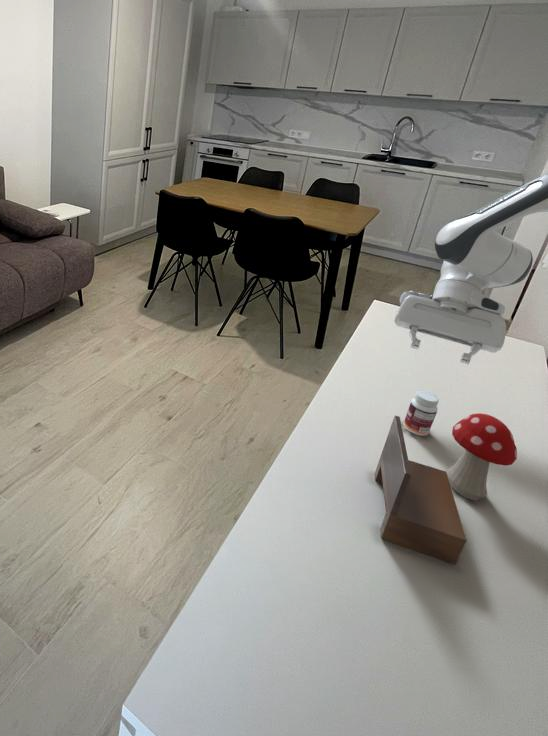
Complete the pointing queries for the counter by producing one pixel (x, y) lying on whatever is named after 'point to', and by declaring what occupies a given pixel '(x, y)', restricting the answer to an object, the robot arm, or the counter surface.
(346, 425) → the counter surface
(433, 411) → the pill bottle
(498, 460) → the decorative mushroom
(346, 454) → the counter surface
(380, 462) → the wooden display stand
